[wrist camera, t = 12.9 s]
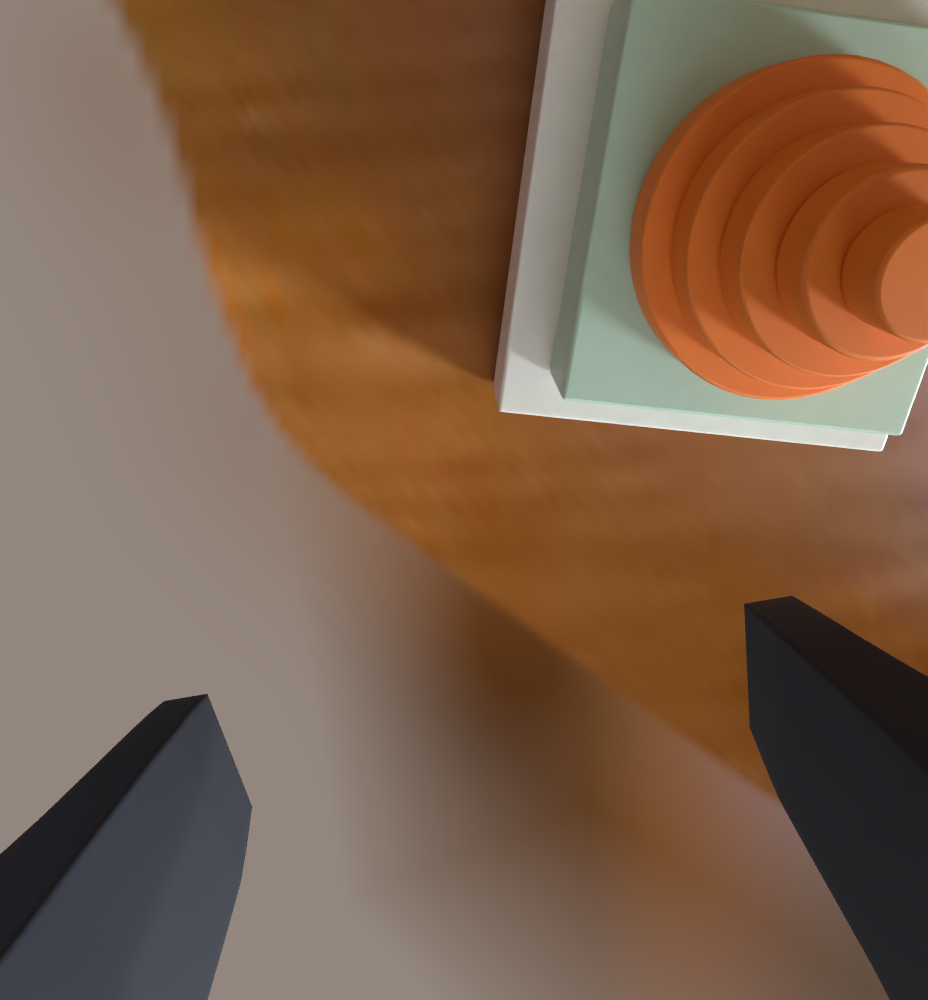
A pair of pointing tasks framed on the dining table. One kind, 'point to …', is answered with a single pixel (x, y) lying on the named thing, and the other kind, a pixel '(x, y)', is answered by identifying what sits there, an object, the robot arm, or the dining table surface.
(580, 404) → the base block
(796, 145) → the cone
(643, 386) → the top block
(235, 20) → the dining table surface
